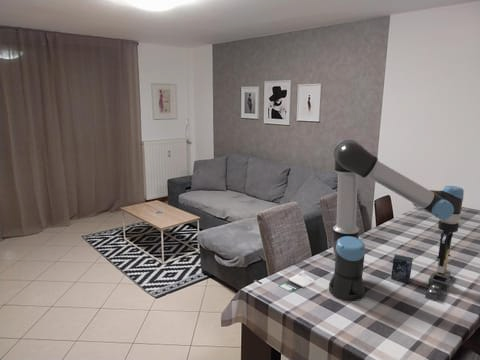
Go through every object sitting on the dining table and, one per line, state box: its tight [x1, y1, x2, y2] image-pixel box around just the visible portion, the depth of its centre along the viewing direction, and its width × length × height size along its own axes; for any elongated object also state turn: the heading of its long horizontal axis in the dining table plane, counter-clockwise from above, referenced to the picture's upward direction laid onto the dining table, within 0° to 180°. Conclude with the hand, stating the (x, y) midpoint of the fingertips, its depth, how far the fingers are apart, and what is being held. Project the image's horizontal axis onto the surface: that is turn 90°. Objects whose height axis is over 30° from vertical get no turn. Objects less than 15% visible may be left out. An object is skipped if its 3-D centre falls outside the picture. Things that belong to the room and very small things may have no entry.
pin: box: [436, 248, 451, 275], centre depth 155 cm, size 4×4×12 cm
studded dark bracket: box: [424, 269, 452, 302], centre depth 157 cm, size 29×7×4 cm, turn 139°
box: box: [390, 253, 414, 284], centre depth 163 cm, size 8×6×11 cm
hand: (441, 270), depth 156 cm, fingers closed on pin, 3 cm apart
